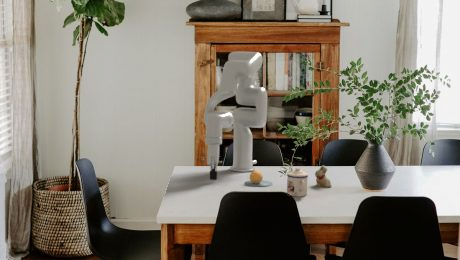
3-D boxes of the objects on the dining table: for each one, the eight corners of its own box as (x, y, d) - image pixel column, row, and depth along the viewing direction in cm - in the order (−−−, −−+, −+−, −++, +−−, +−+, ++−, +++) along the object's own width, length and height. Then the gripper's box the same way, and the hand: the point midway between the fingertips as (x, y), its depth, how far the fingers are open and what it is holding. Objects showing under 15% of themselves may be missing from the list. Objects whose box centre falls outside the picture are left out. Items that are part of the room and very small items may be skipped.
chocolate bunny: (324, 183, 322) (324, 162, 320) (332, 187, 314) (333, 165, 313) (313, 184, 320) (314, 163, 318) (322, 188, 312) (323, 166, 311)
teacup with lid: (283, 192, 303) (283, 166, 301) (302, 191, 305) (303, 165, 304) (294, 199, 291) (294, 171, 290) (313, 197, 294) (314, 170, 292)
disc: (255, 179, 329) (255, 178, 329) (278, 183, 321) (278, 182, 321) (238, 183, 318) (239, 183, 318) (262, 188, 311) (262, 187, 310)
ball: (250, 177, 323) (260, 169, 322) (256, 187, 321) (266, 179, 320) (245, 174, 318) (255, 167, 317) (251, 185, 316) (262, 177, 314)
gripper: (206, 137, 325) (206, 176, 327) (204, 142, 310) (204, 182, 313) (222, 138, 325) (222, 176, 327) (221, 143, 310) (220, 183, 312)
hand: (213, 179), depth 320 cm, fingers closed
